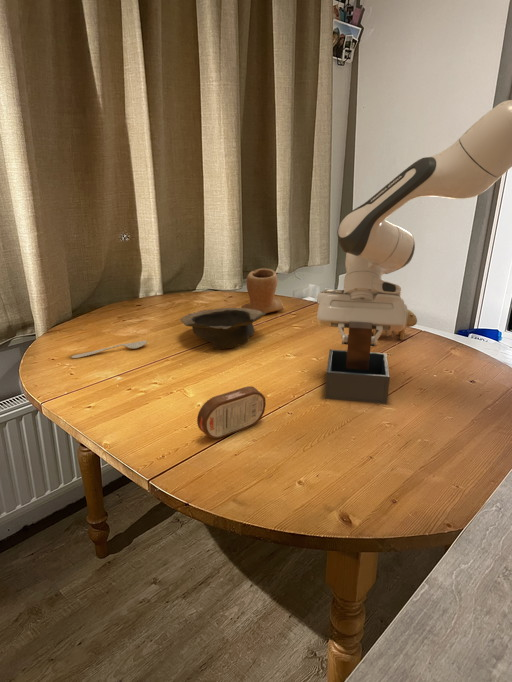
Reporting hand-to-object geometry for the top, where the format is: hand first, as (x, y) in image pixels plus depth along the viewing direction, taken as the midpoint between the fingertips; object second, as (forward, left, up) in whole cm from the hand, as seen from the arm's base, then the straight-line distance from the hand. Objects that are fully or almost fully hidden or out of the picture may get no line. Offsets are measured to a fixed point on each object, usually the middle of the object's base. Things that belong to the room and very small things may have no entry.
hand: (359, 344), depth 113 cm
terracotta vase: (+31, -54, -11) cm, 63 cm away
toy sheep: (-9, -38, -11) cm, 40 cm away
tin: (+24, +23, -11) cm, 35 cm away
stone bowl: (+39, -27, -11) cm, 49 cm away
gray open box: (0, -1, -11) cm, 11 cm away
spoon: (+67, -11, -11) cm, 69 cm away
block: (0, -1, -5) cm, 5 cm away
